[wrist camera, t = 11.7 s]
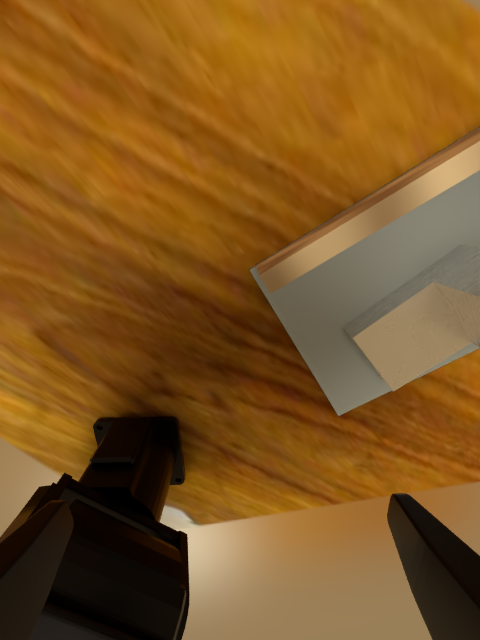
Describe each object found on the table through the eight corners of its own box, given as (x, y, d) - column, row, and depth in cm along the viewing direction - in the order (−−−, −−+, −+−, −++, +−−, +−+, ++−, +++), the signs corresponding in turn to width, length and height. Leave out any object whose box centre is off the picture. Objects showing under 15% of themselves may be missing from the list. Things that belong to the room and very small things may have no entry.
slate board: (336, 411, 23) (338, 416, 22) (249, 269, 19) (249, 270, 18) (551, 307, 20) (559, 309, 19) (497, 115, 16) (505, 112, 16)
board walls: (324, 380, 22) (340, 409, 18) (255, 264, 19) (258, 275, 15) (532, 274, 19) (594, 285, 16) (488, 121, 16) (552, 96, 13)
